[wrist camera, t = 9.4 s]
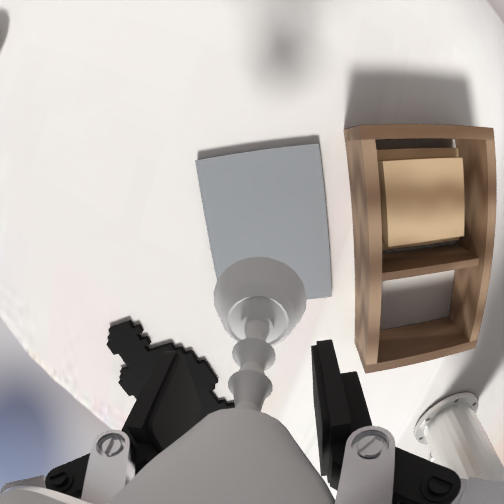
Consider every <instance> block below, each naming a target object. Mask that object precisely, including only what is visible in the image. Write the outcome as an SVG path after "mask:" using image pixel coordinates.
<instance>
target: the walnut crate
mask: <svg viewBox="0 0 504 504" xmlns="http://www.w3.org/2000/svg"><path fill="white" fill-rule="evenodd" d="M344 135H345V143H346V151H347V160H348V170H349V180H350V191H351V203H352V218H353V235H354V258H355V345H356V348H357V351H358V353H359V356H360V359H361V362H362V365H363V368H364V371H365V373H371V372H377V371H382V370H387V369H392V368H397V367H402V366H407V365H411V364H416V363H420V362H424V361H429V360H433V359H437V358H441V357H444V356H448V355H452V354H455V353H459V352H463V351H466V350H469V349H473V348H475V347H476V343H477V339H478V335H479V331H480V327H481V322H482V318H483V313H484V308H485V303H486V298H487V292H488V286H489V280H490V273H491V266H492V257H493V248H494V237H495V222H496V156H495V142H494V131H493V128H487V127H474V126H458V125H433V124H384V125H359V126H355V127H351V128H348V129H344ZM421 138H432V139H455V142H456V148H458V155H459V157H462V158H463V173H464V203H465V217H464V236H460V238H459V240H457V244H452V245H444V246H437V247H430V248H422V249H414V250H407V251H399V252H391V253H383V254H382V223H381V201H380V185H379V172H378V161H377V151H376V142H375V140H379V139H421ZM449 270H455V274H454V283H453V291H452V299H451V306H450V312H449V317H446V318H442V319H437V320H432V321H427V322H423V323H418V324H413V325H407V326H402V327H397V328H391V329H385V330H380V317H381V296H382V281H386V280H393V279H399V278H406V277H412V276H419V275H425V274H431V273H437V272H443V271H449Z"/></svg>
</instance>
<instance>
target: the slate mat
mask: <svg viewBox="0 0 504 504" xmlns="http://www.w3.org/2000/svg"><path fill="white" fill-rule="evenodd" d="M195 162H196V168H197V174H198V180H199V186H200V192H201V197H202V203H203V209H204V214H205V220H206V225H207V231H208V236H209V241H210V247H211V252H212V257H213V262H214V267H215V272H216V277H217V280H218V278H219V277H220V276H221V275H222V273H223V272H224V271H225V269H226V268H228V267H229V266H231V265H232V264H234V263H236V262H237V261H239V260H243V259H246V258H250V257H269V258H272V259H275V260H278V261H280V262H283V263H285V264H286V265H287V266H289V267H290V268H291V269H293V270H294V271H295V272H296V273H297V275H298V276H299V278H300V279H301V281H302V282H303V284H304V288H305V291H306V295H307V299H315V298H323V297H331V296H332V286H331V267H330V251H329V237H328V224H327V213H326V202H325V192H324V182H323V173H322V165H321V156H320V149H319V143H318V144H307V145H298V146H289V147H280V148H272V149H264V150H257V151H250V152H243V153H236V154H230V155H224V156H218V157H212V158H206V159H200V160H195Z"/></svg>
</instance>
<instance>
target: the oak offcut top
mask: <svg viewBox="0 0 504 504" xmlns="http://www.w3.org/2000/svg"><path fill="white" fill-rule="evenodd" d="M377 161H378V172H379V185H380V201H381V223H382V241H383V242H384V243H385V244H386V245H387V246H388V247H391V246H398V245H405V244H412V243H419V242H426V241H433V240H440V239H447V238H454V237H460V236H464V217H465V203H464V173H463V158H462V157H453V156H452V157H425V158H406V159H391V160H377Z"/></svg>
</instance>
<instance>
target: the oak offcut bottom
mask: <svg viewBox="0 0 504 504" xmlns="http://www.w3.org/2000/svg"><path fill="white" fill-rule="evenodd" d="M376 151H377V160H391V159H406V158H425V157H452V156H453V157H459V155H458V148H400V149H378V150H376ZM459 238H460V237H454V238H447V239H440V240H433V241H426V242H419V243H412V244H405V245H398V246H391V247H388V246H387V245H386V244H385V243H384V242H383V241H382V250H388V249H396V248H403V247H411V246H419V245H426V244H434V243H441V242H449V241H456V240H459Z"/></svg>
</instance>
